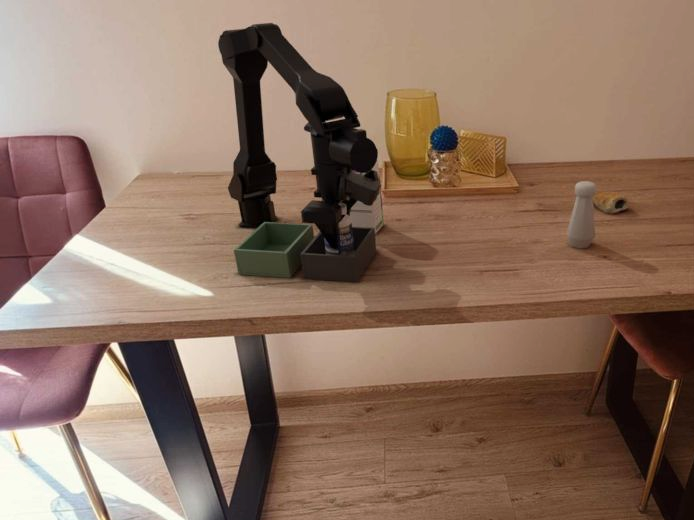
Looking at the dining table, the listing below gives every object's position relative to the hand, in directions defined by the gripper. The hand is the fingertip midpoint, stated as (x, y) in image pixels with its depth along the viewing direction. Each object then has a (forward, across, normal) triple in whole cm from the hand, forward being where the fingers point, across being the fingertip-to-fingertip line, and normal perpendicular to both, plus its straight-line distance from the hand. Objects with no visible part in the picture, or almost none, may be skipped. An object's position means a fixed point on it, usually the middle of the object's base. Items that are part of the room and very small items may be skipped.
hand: (339, 242), depth 122 cm
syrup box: (+5, +18, 0) cm, 19 cm away
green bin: (+5, 0, +13) cm, 14 cm away
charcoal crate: (+5, 0, 0) cm, 5 cm away
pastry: (+5, +40, -53) cm, 66 cm away
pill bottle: (+3, 0, 0) cm, 3 cm away
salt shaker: (+5, +16, -46) cm, 49 cm away
